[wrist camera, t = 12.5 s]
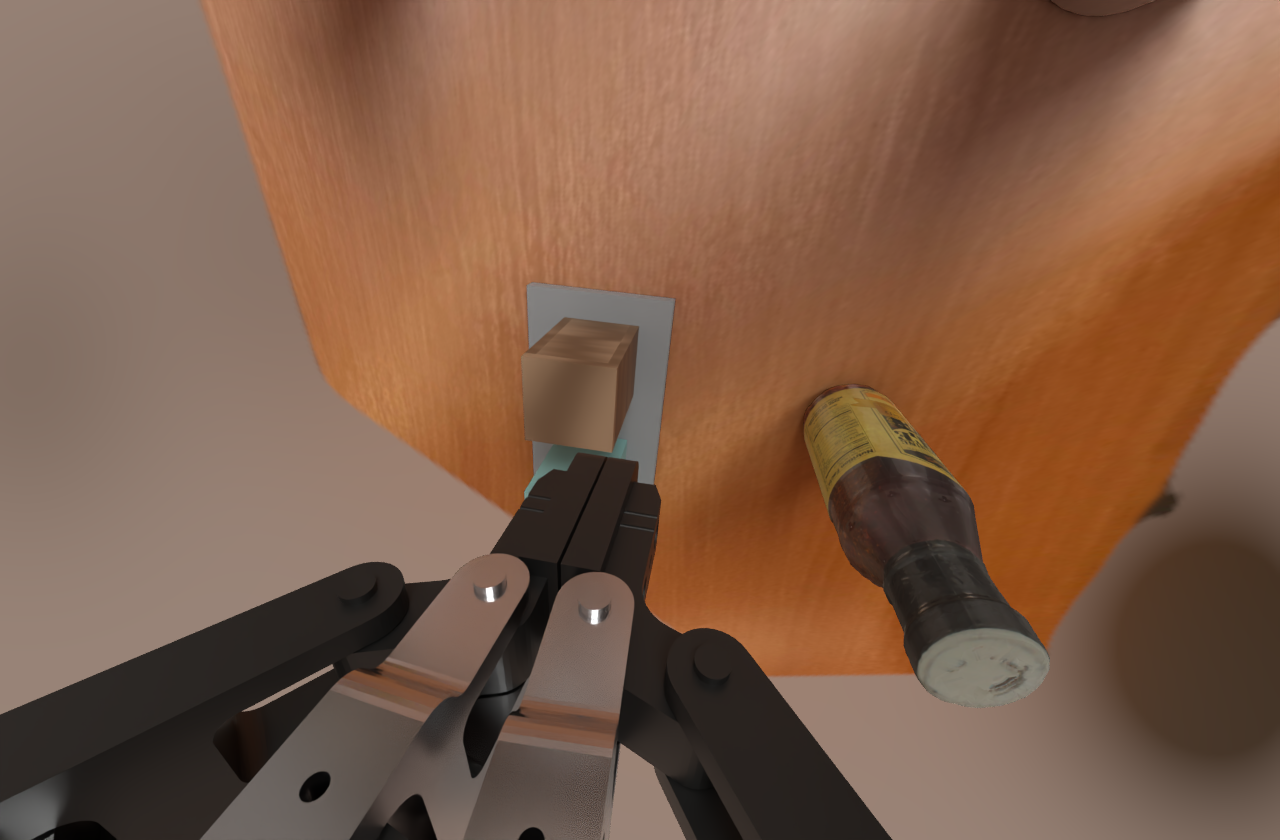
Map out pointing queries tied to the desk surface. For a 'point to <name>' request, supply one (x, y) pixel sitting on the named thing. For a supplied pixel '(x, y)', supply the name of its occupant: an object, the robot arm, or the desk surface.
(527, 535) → the robot arm
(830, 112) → the desk surface
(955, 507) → the sauce bottle
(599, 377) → the tall brown pillar
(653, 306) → the stand
